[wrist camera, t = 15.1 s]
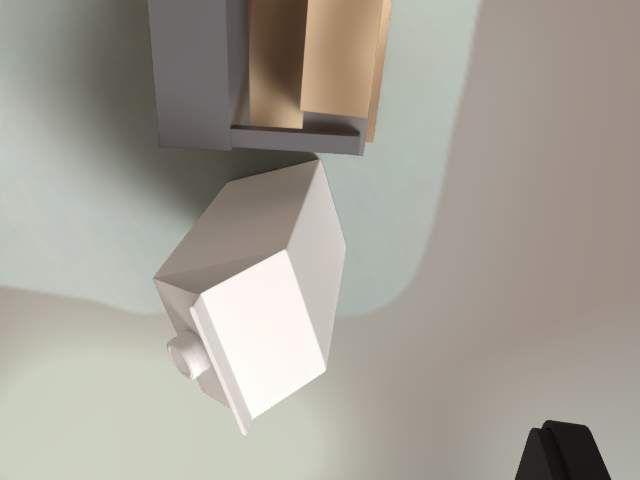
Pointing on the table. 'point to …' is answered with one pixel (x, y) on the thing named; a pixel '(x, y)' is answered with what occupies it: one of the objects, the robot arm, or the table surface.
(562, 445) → the robot arm
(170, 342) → the milk carton
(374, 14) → the stacked wooden blocks
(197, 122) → the grey bracket
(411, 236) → the table surface
